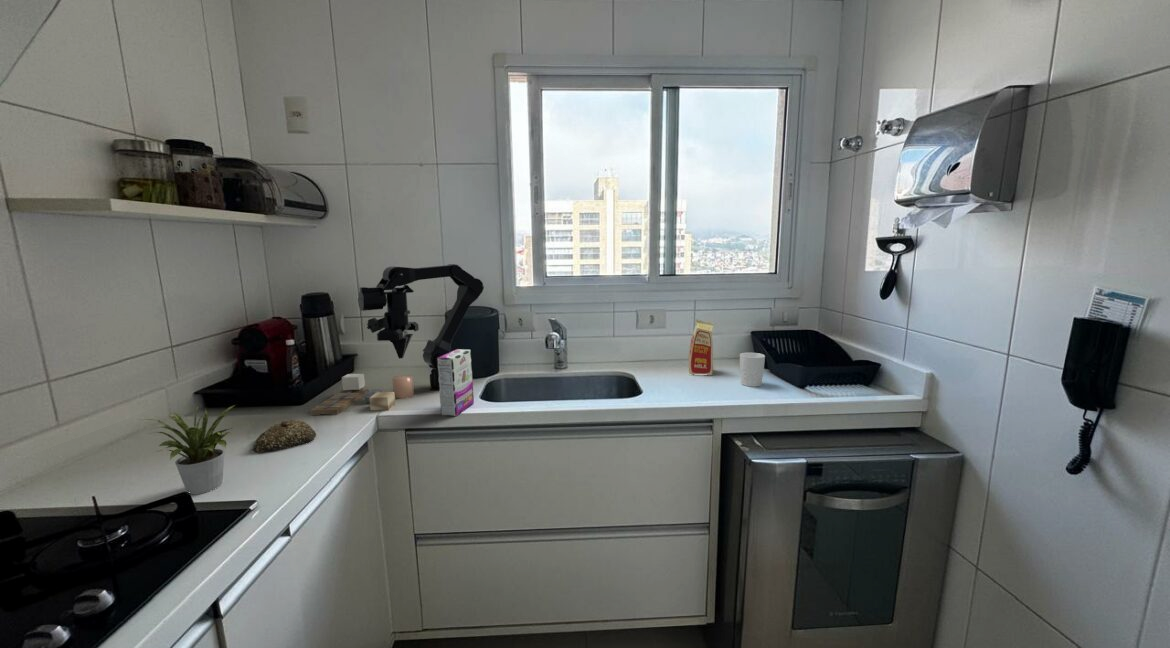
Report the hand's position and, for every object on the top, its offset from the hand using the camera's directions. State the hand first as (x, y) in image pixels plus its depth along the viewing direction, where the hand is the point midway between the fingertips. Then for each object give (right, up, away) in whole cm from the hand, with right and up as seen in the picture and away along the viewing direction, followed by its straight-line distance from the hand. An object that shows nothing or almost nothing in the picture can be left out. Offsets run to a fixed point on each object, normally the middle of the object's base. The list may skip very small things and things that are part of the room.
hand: (400, 358), depth 138 cm
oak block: (-1, -14, -9) cm, 17 cm away
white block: (-16, -10, +3) cm, 19 cm away
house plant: (-16, -21, -54) cm, 60 cm away
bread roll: (-15, -18, -31) cm, 39 cm away
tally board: (-16, -13, -5) cm, 21 cm away
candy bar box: (+21, -14, -11) cm, 27 cm away
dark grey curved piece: (-7, -13, -3) cm, 15 cm away
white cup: (+113, -10, +12) cm, 114 cm away
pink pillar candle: (0, -12, +2) cm, 12 cm away
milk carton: (+100, -8, +27) cm, 104 cm away
